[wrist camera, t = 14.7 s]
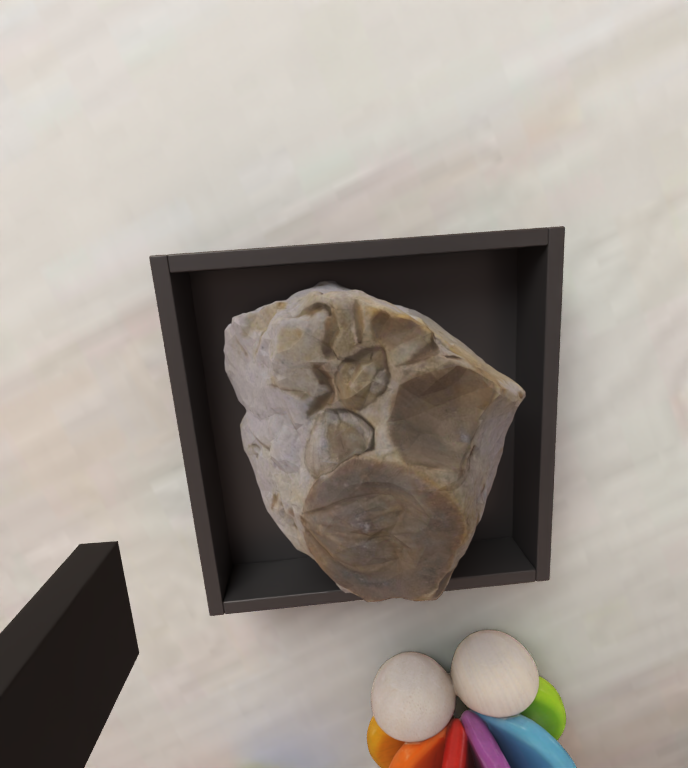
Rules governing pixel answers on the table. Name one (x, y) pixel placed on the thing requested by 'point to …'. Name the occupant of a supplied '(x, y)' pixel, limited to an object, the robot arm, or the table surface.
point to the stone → (368, 435)
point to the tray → (399, 287)
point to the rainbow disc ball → (481, 719)
